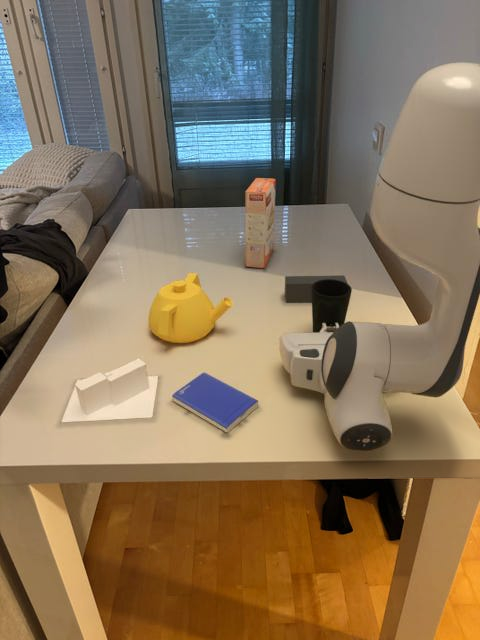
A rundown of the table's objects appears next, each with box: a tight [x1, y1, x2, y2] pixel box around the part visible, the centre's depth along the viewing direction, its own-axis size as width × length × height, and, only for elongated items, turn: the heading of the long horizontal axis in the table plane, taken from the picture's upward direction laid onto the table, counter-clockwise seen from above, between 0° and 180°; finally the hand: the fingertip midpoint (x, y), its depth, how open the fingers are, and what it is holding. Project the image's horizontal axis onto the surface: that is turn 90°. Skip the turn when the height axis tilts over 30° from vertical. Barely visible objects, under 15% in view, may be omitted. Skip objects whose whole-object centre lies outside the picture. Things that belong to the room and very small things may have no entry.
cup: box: [311, 279, 353, 333], centre depth 93 cm, size 8×8×12 cm
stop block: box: [284, 275, 349, 304], centre depth 110 cm, size 14×4×5 cm, turn 90°
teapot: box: [148, 272, 234, 344], centre depth 97 cm, size 20×18×11 cm
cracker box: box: [244, 177, 277, 269], centre depth 126 cm, size 14×6×21 cm, turn 167°
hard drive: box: [171, 372, 259, 434], centre depth 79 cm, size 2×8×12 cm
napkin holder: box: [60, 358, 159, 423], centre depth 80 cm, size 15×11×6 cm
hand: (329, 325), depth 89 cm, fingers closed, pressing on cup
